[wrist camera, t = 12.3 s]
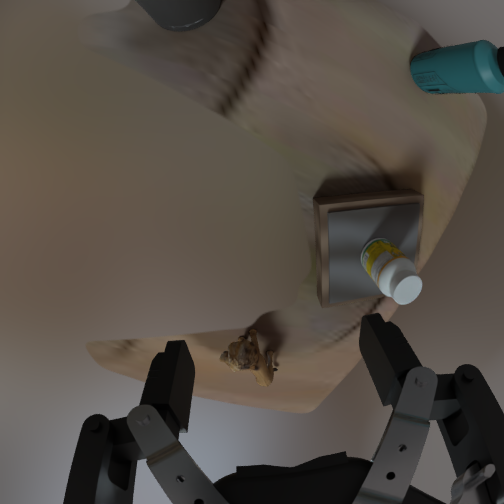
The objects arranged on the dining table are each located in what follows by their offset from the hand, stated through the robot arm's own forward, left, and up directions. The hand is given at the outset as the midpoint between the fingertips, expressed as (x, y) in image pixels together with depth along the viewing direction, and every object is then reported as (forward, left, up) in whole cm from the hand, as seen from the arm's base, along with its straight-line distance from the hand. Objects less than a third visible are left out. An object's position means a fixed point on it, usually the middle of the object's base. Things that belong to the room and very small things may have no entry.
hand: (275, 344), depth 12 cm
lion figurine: (+27, -4, -28) cm, 39 cm away
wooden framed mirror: (+10, +16, -28) cm, 34 cm away
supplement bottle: (+10, +16, -24) cm, 31 cm away
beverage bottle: (-16, +27, -28) cm, 42 cm away
